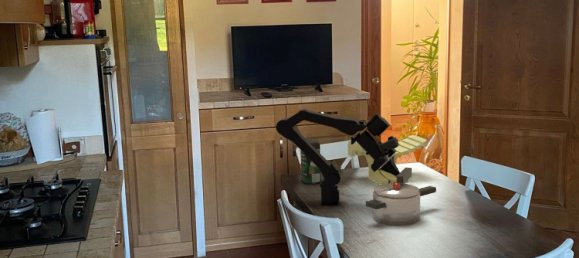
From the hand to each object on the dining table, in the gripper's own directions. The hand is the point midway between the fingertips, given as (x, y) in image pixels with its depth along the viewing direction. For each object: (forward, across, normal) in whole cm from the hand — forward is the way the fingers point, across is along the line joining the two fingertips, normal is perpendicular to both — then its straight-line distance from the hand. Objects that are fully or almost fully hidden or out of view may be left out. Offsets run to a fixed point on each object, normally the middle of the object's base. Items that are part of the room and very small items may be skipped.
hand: (400, 176), depth 215 cm
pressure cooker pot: (+11, -10, +6) cm, 16 cm away
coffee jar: (-23, +26, +39) cm, 52 cm away
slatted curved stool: (-1, +39, +18) cm, 43 cm away
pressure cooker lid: (+3, -7, +1) cm, 8 cm away
